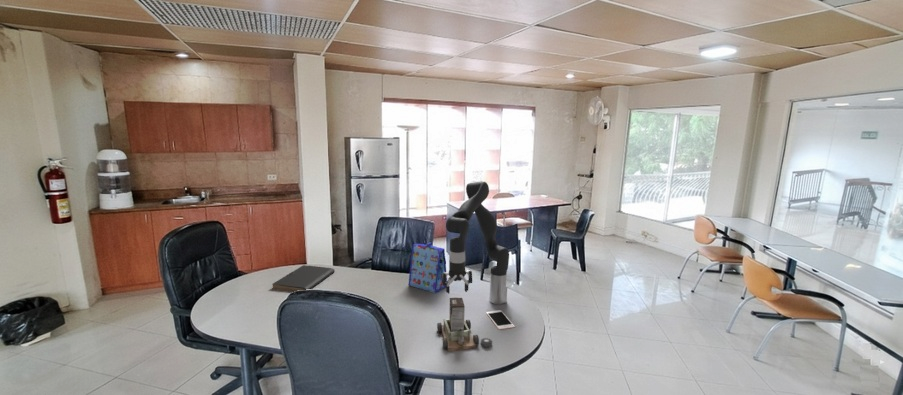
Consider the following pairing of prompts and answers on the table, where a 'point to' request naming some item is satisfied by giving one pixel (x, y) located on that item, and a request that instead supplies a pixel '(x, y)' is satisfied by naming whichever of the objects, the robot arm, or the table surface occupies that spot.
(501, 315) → the cell phone
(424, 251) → the lunch bag
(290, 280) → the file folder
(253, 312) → the table surface
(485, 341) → the loose wheel
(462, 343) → the chassis
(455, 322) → the coffee box
